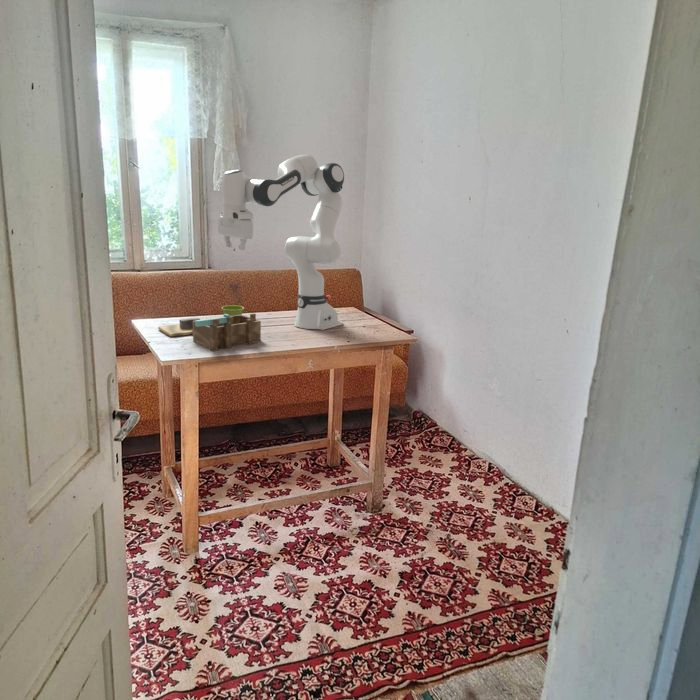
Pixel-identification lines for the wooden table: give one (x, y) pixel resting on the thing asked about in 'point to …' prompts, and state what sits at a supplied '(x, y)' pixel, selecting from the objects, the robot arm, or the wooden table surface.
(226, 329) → the wooden crate
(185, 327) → the lid
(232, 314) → the plant pot
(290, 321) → the wooden table surface
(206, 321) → the bar
